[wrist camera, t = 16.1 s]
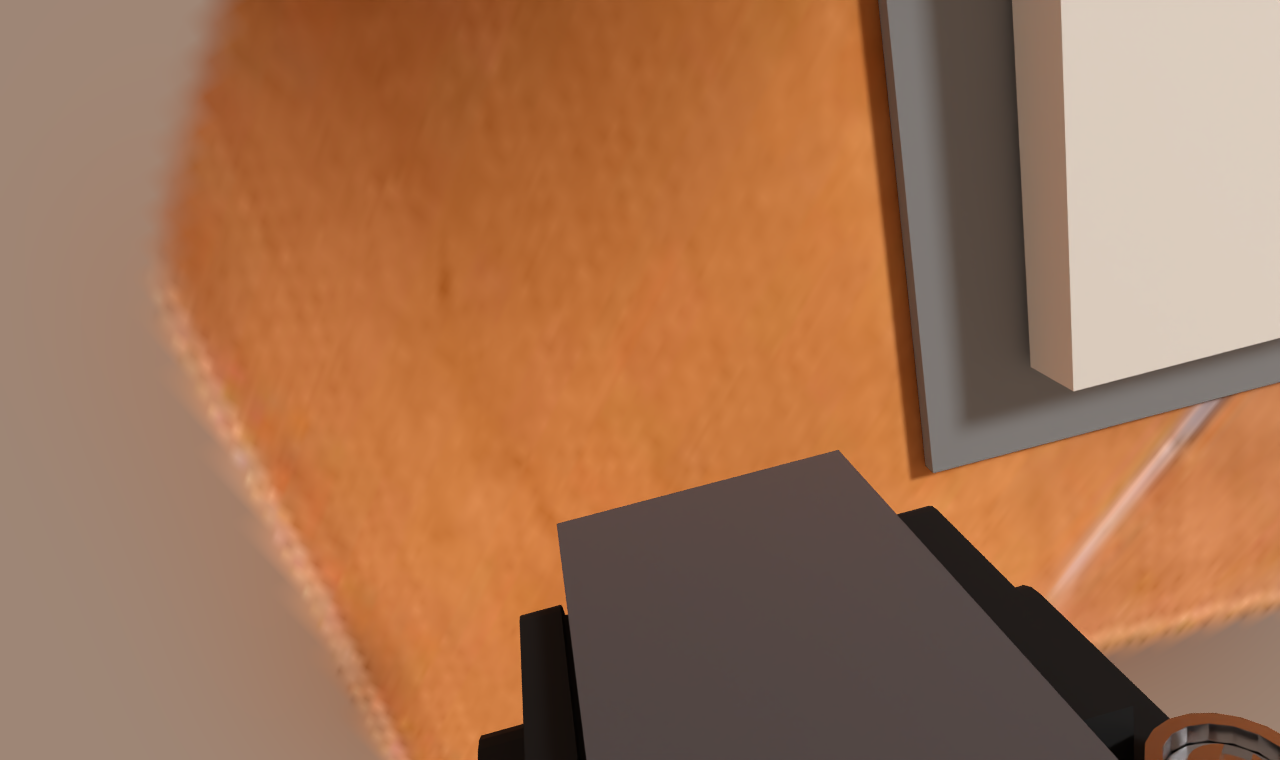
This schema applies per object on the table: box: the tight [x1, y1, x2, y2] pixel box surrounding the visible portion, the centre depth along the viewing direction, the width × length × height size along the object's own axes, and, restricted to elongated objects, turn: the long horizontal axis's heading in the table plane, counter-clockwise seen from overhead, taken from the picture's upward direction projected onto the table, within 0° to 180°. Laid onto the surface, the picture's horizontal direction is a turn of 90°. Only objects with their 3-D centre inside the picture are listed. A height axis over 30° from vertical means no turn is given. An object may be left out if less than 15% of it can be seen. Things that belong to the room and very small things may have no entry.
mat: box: [878, 0, 1280, 473], centre depth 23 cm, size 20×16×1 cm
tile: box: [1012, 0, 1280, 391], centre depth 22 cm, size 2×10×12 cm
